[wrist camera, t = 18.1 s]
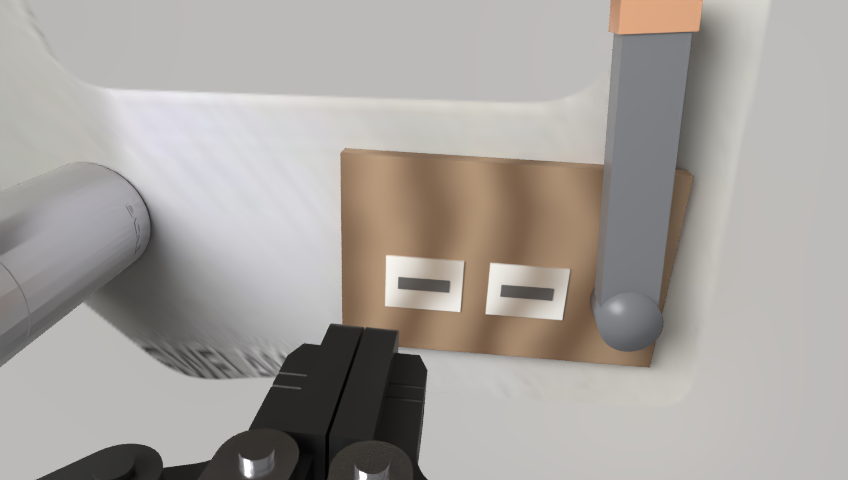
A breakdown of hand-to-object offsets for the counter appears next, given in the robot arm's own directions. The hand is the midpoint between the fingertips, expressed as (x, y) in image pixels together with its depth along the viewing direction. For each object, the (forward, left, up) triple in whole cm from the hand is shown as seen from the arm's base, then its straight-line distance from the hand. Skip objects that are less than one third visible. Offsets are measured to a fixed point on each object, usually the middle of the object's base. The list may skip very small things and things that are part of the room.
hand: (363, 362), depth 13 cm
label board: (+5, -12, -32) cm, 34 cm away
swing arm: (+14, -4, -30) cm, 33 cm away
